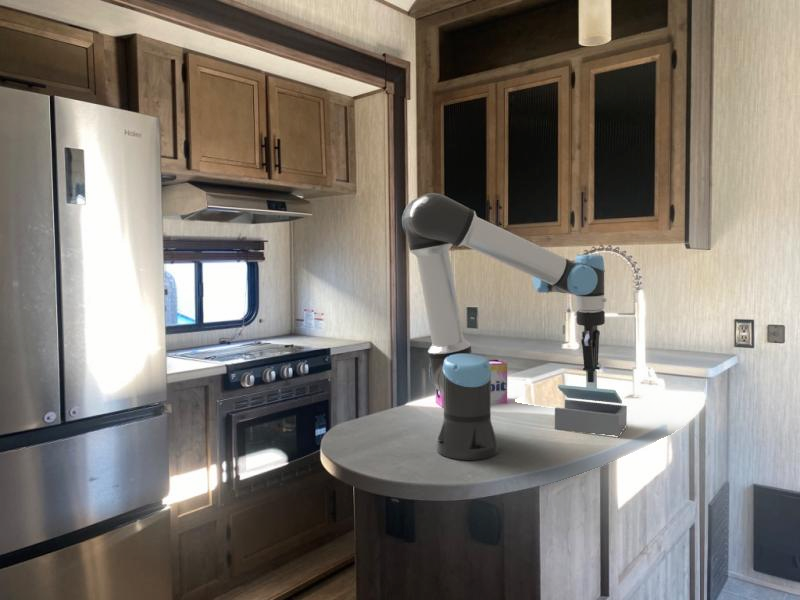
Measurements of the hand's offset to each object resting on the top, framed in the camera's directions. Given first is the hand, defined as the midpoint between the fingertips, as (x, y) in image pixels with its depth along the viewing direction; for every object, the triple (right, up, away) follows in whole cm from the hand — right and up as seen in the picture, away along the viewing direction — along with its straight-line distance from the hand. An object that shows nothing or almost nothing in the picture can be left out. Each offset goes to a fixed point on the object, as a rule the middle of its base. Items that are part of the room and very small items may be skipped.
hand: (591, 392), depth 171 cm
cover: (-1, -1, -2) cm, 2 cm away
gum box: (-31, -8, +29) cm, 43 cm away
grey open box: (-1, -10, -2) cm, 10 cm away
